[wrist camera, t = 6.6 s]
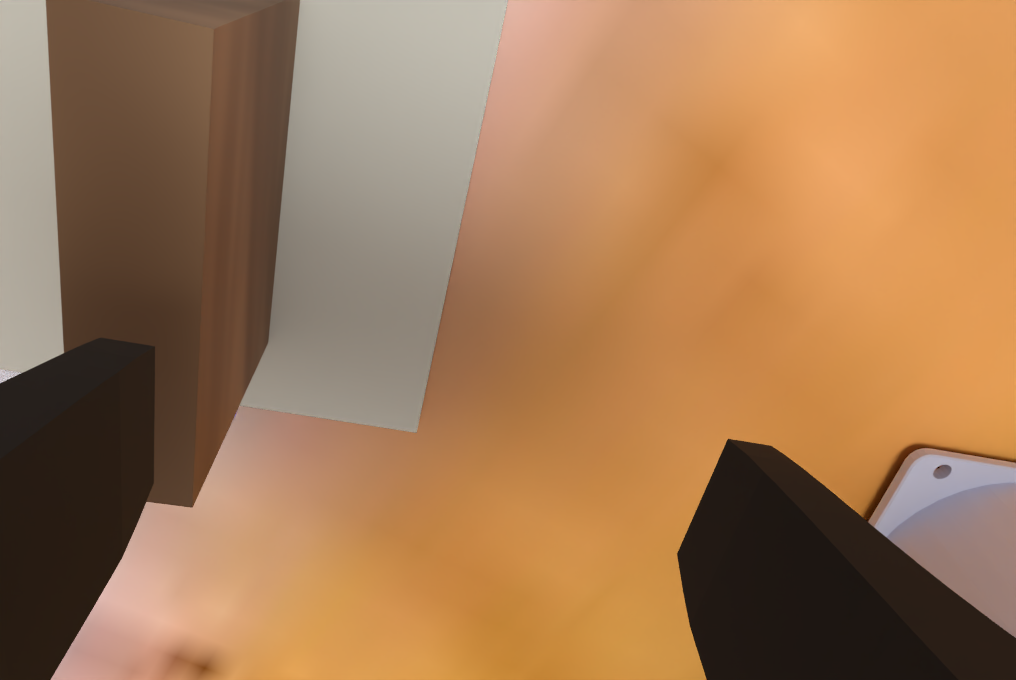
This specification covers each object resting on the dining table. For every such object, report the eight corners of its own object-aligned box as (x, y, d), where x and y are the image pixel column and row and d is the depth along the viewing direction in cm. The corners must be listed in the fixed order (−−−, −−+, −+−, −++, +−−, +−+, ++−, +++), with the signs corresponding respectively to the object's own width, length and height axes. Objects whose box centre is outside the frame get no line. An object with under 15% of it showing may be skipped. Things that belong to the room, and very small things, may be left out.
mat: (573, -321, 13) (577, -329, 13) (417, 421, 20) (416, 432, 20) (-514, -674, 11) (-556, -699, 10) (-249, 318, 18) (-267, 328, 17)
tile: (300, -6, 15) (213, 28, 10) (268, 342, 18) (192, 507, 13) (192, -33, 14) (40, -11, 9) (181, 328, 18) (67, 491, 13)
